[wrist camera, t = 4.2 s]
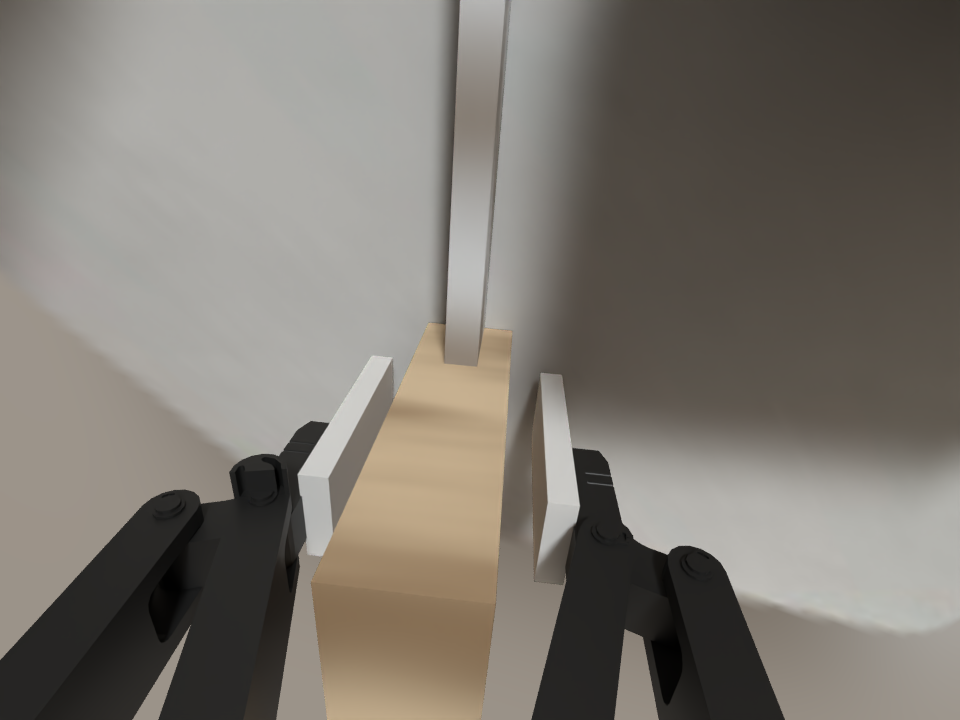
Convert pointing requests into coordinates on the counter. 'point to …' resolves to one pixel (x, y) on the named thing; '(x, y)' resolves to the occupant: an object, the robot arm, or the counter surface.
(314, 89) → the counter surface
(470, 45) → the wood and metal l-shape
